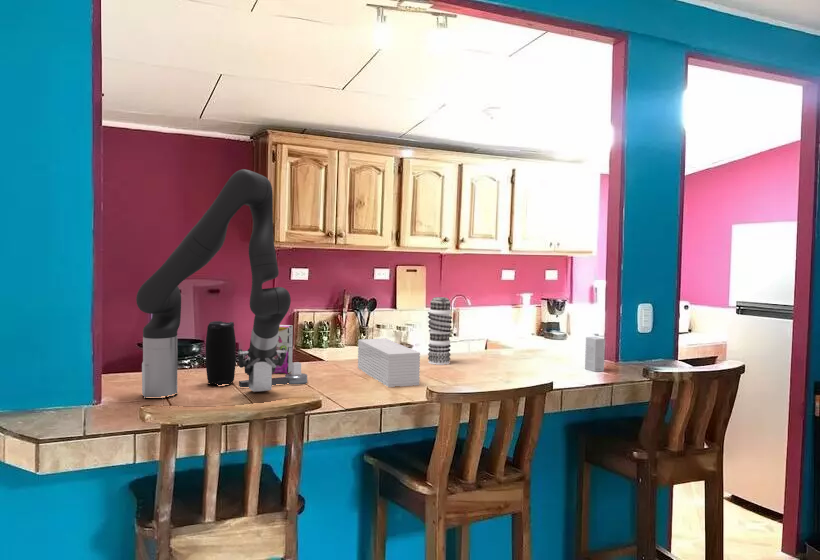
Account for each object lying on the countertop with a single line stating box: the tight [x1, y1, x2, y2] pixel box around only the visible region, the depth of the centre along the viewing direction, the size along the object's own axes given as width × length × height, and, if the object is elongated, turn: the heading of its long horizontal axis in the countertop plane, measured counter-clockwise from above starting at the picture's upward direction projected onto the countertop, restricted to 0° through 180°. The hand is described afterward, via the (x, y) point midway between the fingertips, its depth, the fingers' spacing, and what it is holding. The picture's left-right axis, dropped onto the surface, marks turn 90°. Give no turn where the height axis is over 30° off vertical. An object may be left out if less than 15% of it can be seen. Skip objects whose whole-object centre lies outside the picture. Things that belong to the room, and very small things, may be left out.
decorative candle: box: [427, 296, 453, 366], centre depth 243 cm, size 9×9×25 cm
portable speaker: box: [205, 320, 237, 386], centre depth 199 cm, size 9×9×20 cm
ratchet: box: [238, 361, 308, 387], centre depth 200 cm, size 22×7×6 cm, turn 120°
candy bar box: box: [272, 324, 294, 375], centre depth 219 cm, size 11×5×16 cm, turn 84°
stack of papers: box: [357, 337, 421, 388], centre depth 216 cm, size 32×11×11 cm, turn 22°
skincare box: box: [584, 336, 606, 373], centre depth 234 cm, size 6×4×12 cm
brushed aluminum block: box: [248, 362, 273, 393], centre depth 190 cm, size 5×5×11 cm
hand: (259, 371), depth 191 cm, fingers closed on brushed aluminum block, 6 cm apart
